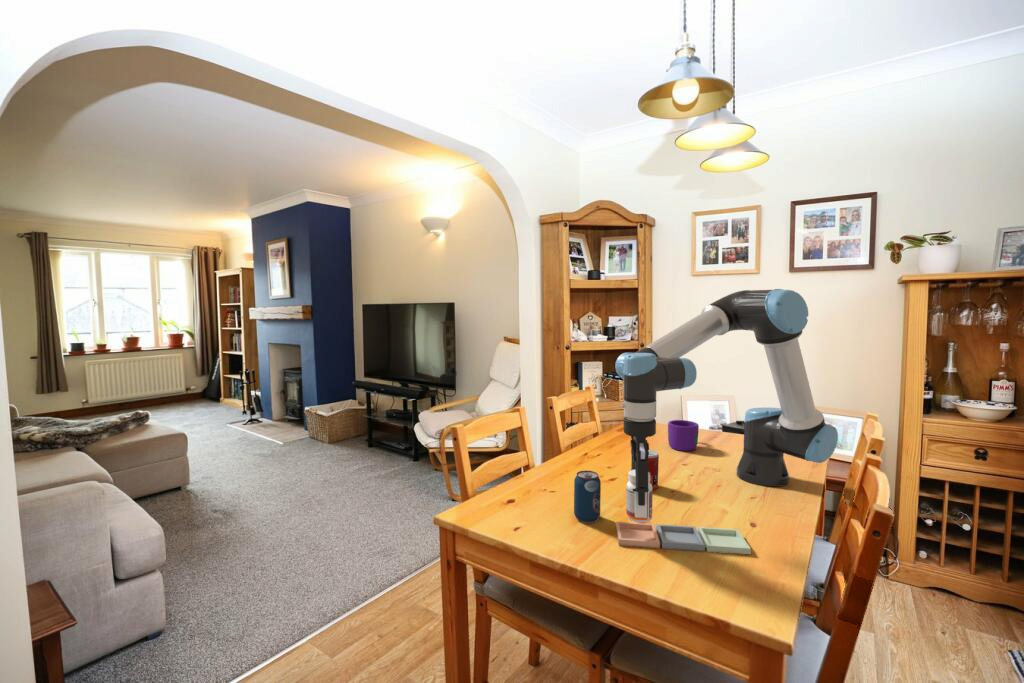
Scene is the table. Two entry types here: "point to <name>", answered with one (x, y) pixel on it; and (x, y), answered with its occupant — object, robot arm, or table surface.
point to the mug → (683, 435)
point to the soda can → (587, 496)
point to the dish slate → (680, 537)
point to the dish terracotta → (637, 535)
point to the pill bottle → (631, 499)
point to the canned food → (653, 467)
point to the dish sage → (723, 540)
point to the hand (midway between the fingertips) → (639, 510)
